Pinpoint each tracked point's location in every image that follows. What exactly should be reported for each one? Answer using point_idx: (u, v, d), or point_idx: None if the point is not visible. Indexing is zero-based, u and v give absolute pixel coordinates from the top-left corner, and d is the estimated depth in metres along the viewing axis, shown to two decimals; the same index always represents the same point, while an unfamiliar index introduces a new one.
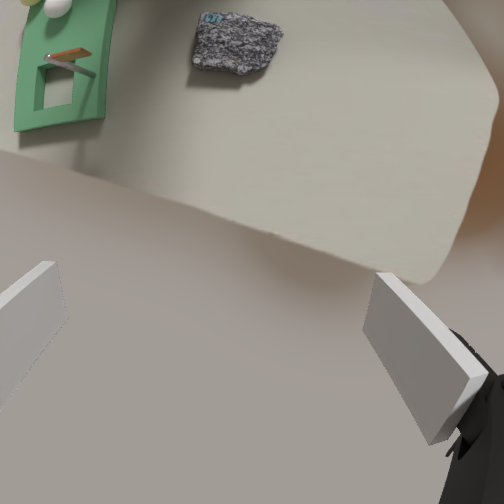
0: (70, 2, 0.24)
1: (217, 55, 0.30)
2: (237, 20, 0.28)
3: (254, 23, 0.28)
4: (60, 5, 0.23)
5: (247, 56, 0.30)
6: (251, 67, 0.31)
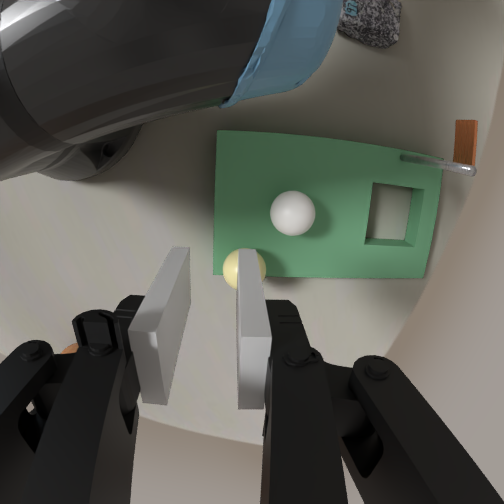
0: (296, 191, 0.27)
1: (390, 17, 0.22)
2: None
3: None
4: (307, 202, 0.26)
5: None
6: None
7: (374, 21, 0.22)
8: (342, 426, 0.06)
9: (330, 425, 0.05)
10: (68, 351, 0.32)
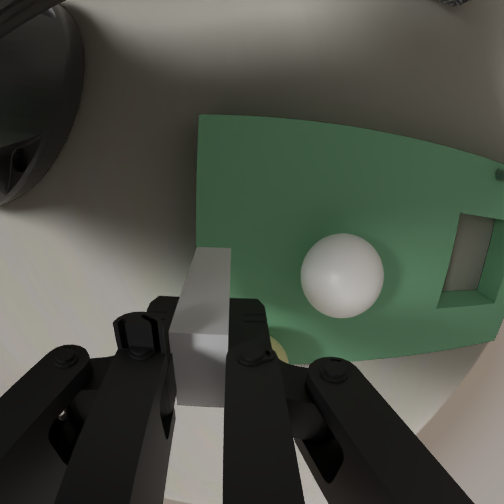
0: (351, 235, 0.14)
1: None
2: None
3: None
4: (375, 260, 0.13)
5: None
6: None
7: None
8: (299, 428, 0.06)
9: (285, 424, 0.05)
10: None
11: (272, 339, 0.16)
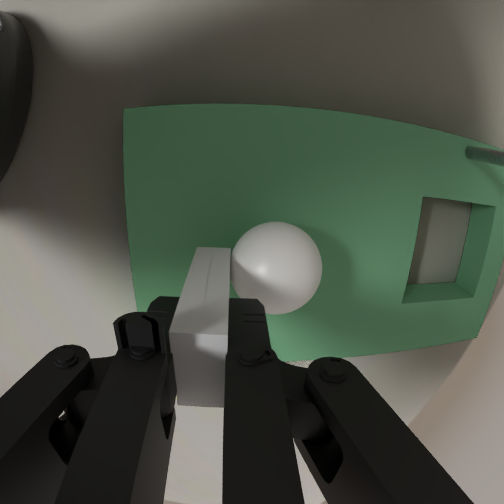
0: (282, 222, 0.13)
1: None
2: None
3: None
4: (307, 249, 0.12)
5: None
6: None
7: None
8: (299, 429, 0.06)
9: (284, 424, 0.05)
10: None
11: None
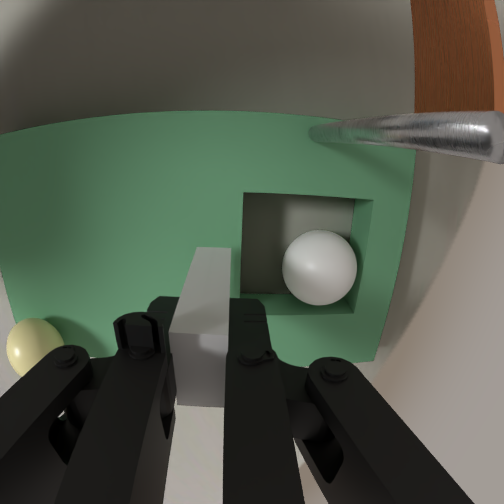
0: (322, 230, 0.16)
1: None
2: None
3: None
4: (349, 247, 0.15)
5: None
6: None
7: None
8: (299, 428, 0.06)
9: (285, 425, 0.05)
10: None
11: (43, 326, 0.14)
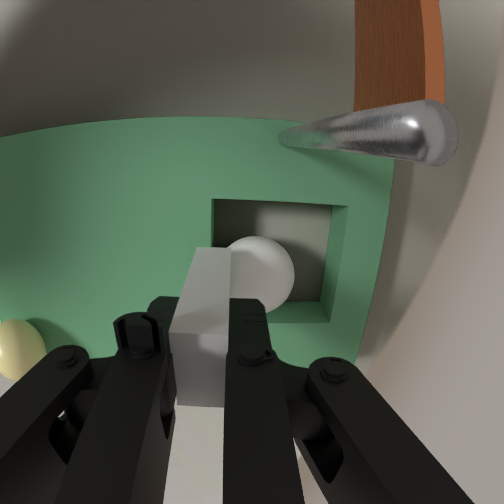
0: (259, 237, 0.15)
1: None
2: None
3: None
4: (263, 260, 0.14)
5: None
6: None
7: None
8: (299, 428, 0.06)
9: (285, 425, 0.05)
10: None
11: (23, 327, 0.14)
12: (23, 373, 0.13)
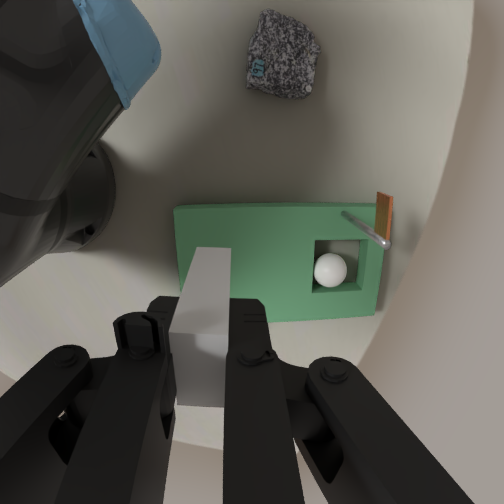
0: (331, 253, 0.36)
1: (303, 67, 0.28)
2: (262, 44, 0.26)
3: (263, 30, 0.26)
4: (335, 263, 0.34)
5: (302, 41, 0.27)
6: (312, 39, 0.27)
7: (282, 77, 0.27)
8: (299, 428, 0.06)
9: (285, 425, 0.05)
10: None
11: None
12: None
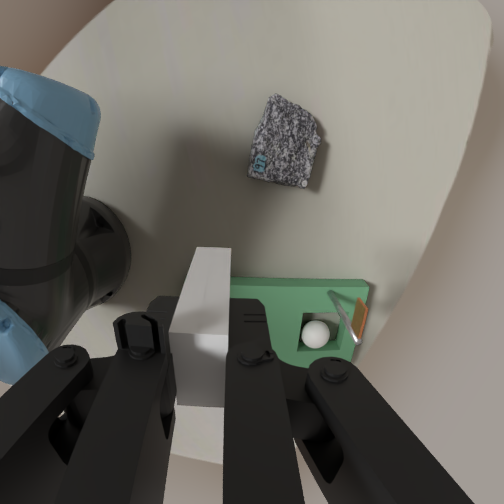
0: (318, 321, 0.42)
1: (302, 162, 0.33)
2: (266, 139, 0.32)
3: (268, 122, 0.31)
4: (321, 331, 0.40)
5: (304, 133, 0.33)
6: (315, 130, 0.33)
7: (281, 173, 0.33)
8: (299, 429, 0.06)
9: (285, 425, 0.05)
10: None
11: None
12: None
